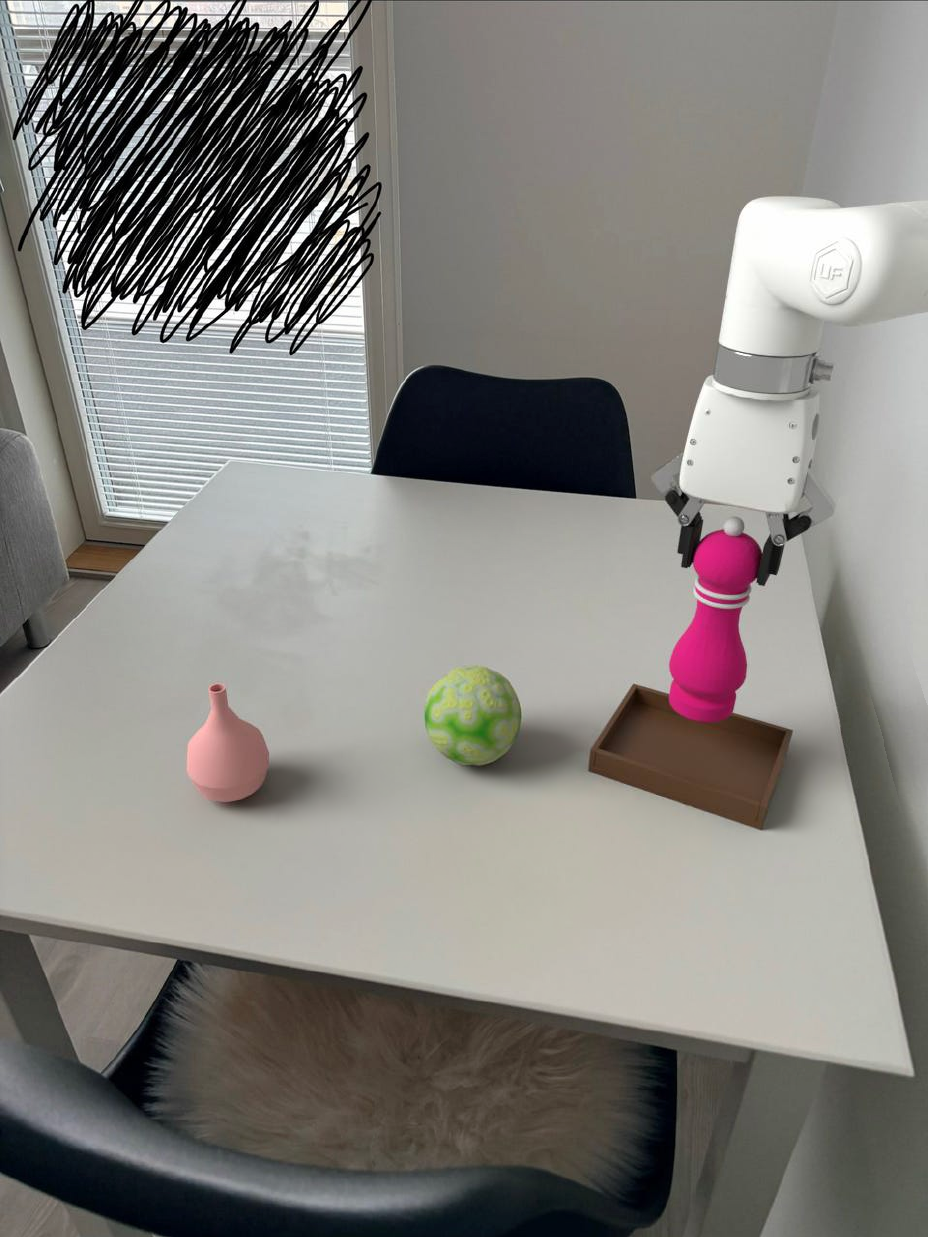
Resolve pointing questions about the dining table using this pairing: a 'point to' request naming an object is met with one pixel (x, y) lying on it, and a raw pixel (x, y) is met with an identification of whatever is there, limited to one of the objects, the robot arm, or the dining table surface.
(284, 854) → the dining table surface
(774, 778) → the tray
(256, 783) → the pink bulb vase
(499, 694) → the decorative ball
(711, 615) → the pepper mill
